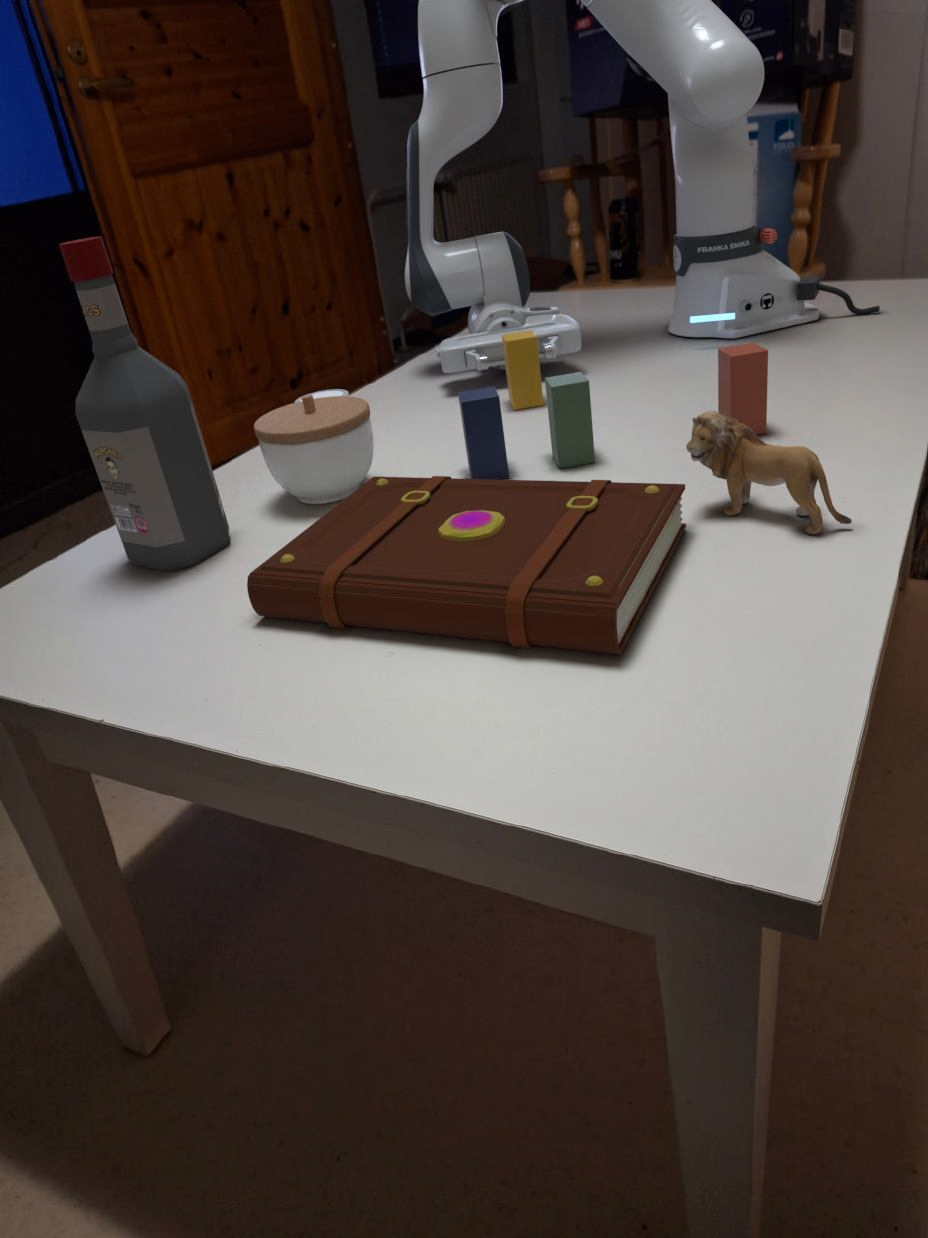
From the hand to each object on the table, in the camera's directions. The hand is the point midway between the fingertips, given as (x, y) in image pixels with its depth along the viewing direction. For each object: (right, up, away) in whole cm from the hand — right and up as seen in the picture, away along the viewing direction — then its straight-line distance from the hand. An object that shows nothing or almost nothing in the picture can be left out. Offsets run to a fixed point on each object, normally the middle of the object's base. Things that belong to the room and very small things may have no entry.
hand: (516, 358), depth 122 cm
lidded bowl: (-22, -21, -20) cm, 37 cm away
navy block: (-4, -19, -23) cm, 30 cm away
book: (-6, -32, -44) cm, 54 cm away
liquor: (-36, -29, -29) cm, 55 cm away
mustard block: (+1, -7, -2) cm, 7 cm away
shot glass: (-24, -14, -7) cm, 29 cm away
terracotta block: (+24, -15, -22) cm, 36 cm away
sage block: (+5, -18, -23) cm, 29 cm away
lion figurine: (+19, -26, -42) cm, 53 cm away
